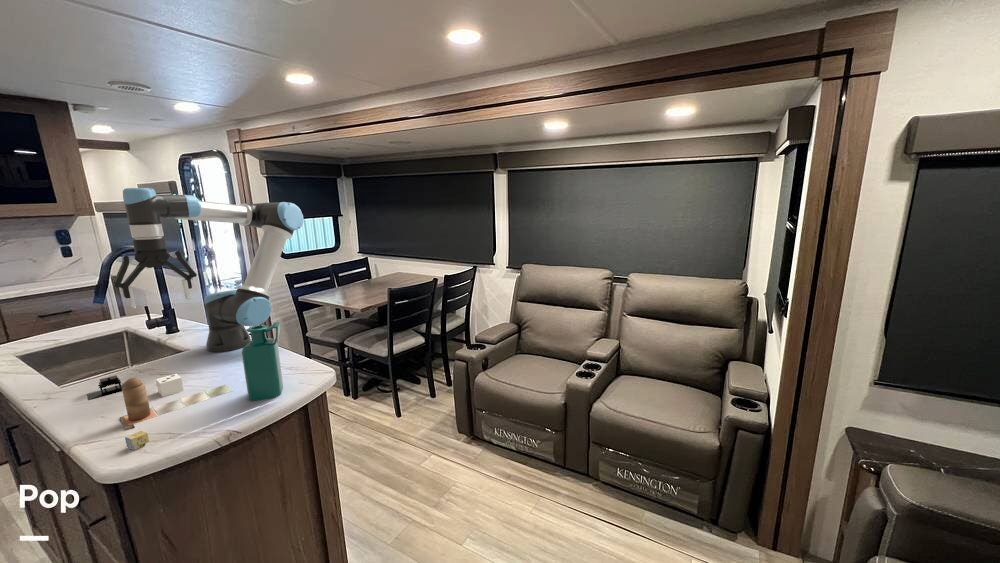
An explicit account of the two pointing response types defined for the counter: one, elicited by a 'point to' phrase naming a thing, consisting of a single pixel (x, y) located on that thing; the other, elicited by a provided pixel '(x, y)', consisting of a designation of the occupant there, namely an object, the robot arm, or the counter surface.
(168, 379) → the die
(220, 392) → the game board
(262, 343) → the green plastic tall bottle
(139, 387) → the wooden domed cylinder
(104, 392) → the black piece
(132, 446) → the alphabet block
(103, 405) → the counter surface
